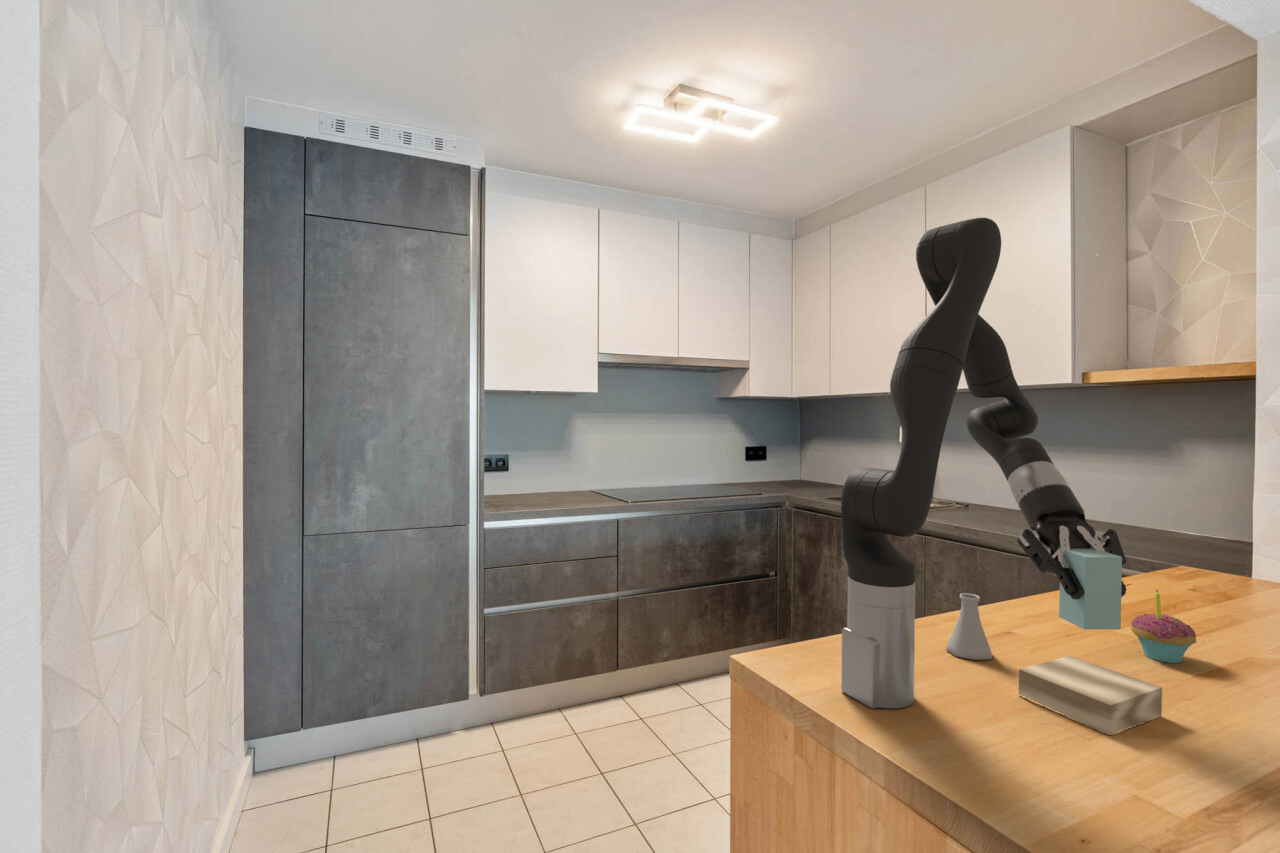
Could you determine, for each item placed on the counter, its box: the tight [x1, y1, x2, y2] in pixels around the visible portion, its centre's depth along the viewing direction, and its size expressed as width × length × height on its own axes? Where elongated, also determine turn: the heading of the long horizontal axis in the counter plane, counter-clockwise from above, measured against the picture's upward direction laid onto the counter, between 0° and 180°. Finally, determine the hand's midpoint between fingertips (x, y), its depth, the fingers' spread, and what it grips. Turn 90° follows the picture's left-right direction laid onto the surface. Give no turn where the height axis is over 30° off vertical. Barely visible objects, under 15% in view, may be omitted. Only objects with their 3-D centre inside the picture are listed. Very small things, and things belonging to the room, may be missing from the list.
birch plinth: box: [1018, 655, 1163, 736], centre depth 86 cm, size 12×12×4 cm
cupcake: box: [1130, 588, 1197, 664], centre depth 103 cm, size 9×8×12 cm
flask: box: [946, 592, 993, 661], centre depth 105 cm, size 7×7×10 cm
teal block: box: [1058, 549, 1123, 630], centre depth 86 cm, size 5×5×10 cm
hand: (1099, 596), depth 84 cm, fingers closed on teal block, 5 cm apart
